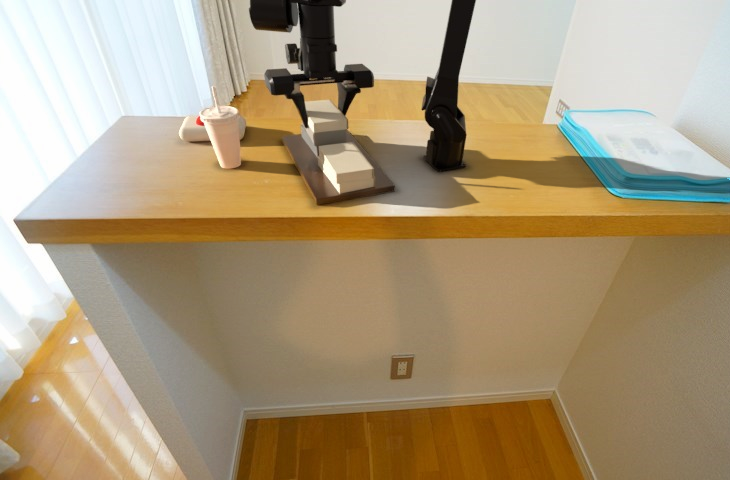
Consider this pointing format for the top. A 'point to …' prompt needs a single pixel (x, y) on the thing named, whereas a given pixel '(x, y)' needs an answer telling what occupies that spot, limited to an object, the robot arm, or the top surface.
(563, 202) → the top surface
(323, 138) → the grey flat block
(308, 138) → the gray rectangular block
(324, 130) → the white book
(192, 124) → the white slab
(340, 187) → the white book
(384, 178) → the walnut board
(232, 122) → the smoothie
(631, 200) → the top surface
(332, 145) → the white book
